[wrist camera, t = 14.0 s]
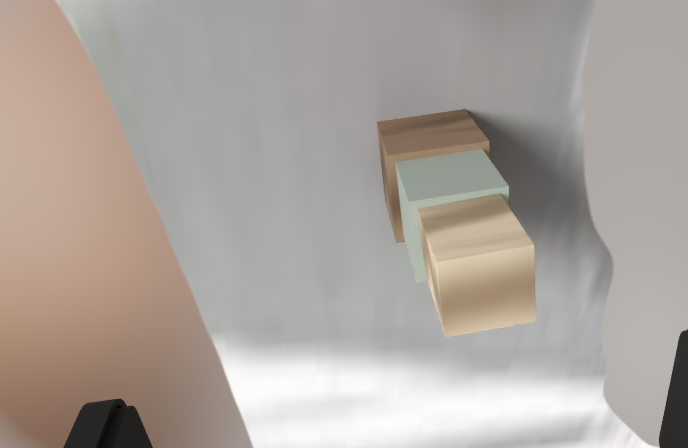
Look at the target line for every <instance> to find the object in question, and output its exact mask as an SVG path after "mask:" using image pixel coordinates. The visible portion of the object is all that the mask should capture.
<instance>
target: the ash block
mask: <svg viewBox="0 0 688 448" xmlns="http://www.w3.org/2000/svg"><path fill="white" fill-rule="evenodd" d="M417 213H418V220H419V227H420V235H421V242H422V250H423V257H424V264H425V272H426V278H427V281H428V284H429V287H430V290H431V293H432V296H433V299H434V303H435V306H436V309H437V312H438V315H439V318H440V321H441V324H442V328H443V331H444V334H445V337H451V336H456V335H462V334H468V333H473V332H479V331H485V330H490V329H496V328H501V327H507V326H513V325H518V324H524V323H530V322H535V321H536V301H535V259H534V244H533V242H532V241H531V239H530V238H529V236H528V235H527V233H526V232H525V230H524V229H523V227H522V226H521V224H520V223H519V221H518V220H517V218H516V217H515V215H514V214H513V212H512V211H511V209H510V208H509V206H508V205H507V203H506V202H505V200H504V199H503V197H502V196H501V194H500V193H498V194H493V195H487V196H482V197H476V198H471V199H466V200H460V201H455V202H449V203H444V204H439V205H433V206H428V207H422V208H417Z"/></svg>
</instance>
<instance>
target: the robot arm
mask: <svg viewBox="0 0 688 448" xmlns="http://www.w3.org/2000/svg"><path fill="white" fill-rule="evenodd" d="M659 445H660V448H688V329H687V331H683V332H682V333H681V334H680V337H679V341H678V347H677V351H676V357H675V361H674V366H673V371H672V376H671V381H670V386H669V391H668V396H667V401H666V406H665V411H664V416H663V421H662V426H661V431H660V436H659ZM64 448H153V447H152V445H151V442H150V440H149V438H148V435H147V433H146V431H145V428H144V426H143V424H142V421H141V419H140V417H139V414H138V412H137V410H136V408H135V407H134V406H127V405H126V404H125V402H124V401H123V400H122V399H113V400H106V401H99V402H91V403H87V404H85V405H84V406H83V407H82V409H81V410H80V412H79V414H78V417H77V419H76V421H75V423H74V426H73V428H72V430H71V432H70V435H69V437H68V439H67V441H66V443H65V446H64Z"/></svg>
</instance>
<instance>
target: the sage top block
mask: <svg viewBox="0 0 688 448" xmlns="http://www.w3.org/2000/svg"><path fill="white" fill-rule="evenodd" d="M395 164H396V173H397V181H398V190H399V199H400V208H401V217H402V226H403V235H404V240H405V243H406V247H407V250H408V254H409V257H410V261H411V264H412V268H413V271H414V275H415V278H416V282H417V283H424V282H428V281H427V278H426V272H425V264H424V257H423V250H422V242H421V235H420V227H419V220H418V213H417V208H422V207H428V206H433V205H439V204H444V203H449V202H455V201H460V200H466V199H471V198H476V197H482V196H487V195H493V194H498V193H500V194H501V196H502V197H503V199H504V200H505V202H506V203H507V205H508V206H509V186H508V184H507V183H506V181H505V180H504V179H503V177H502V176H501V174H500V173H499V172H498V170H497V169H496V167H495V166H494V165H493V163H492V162H491V160H490V159H489V158H488V156H487V155H486V153H485V152H484V151H483V149H478V150H471V151H465V152H458V153H452V154H446V155H439V156H433V157H427V158H420V159H414V160H408V161H401V162H395Z"/></svg>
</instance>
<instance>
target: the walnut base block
mask: <svg viewBox="0 0 688 448" xmlns="http://www.w3.org/2000/svg"><path fill="white" fill-rule="evenodd" d="M377 129H378V138H379V147H380V156H381V165H382V174H383V183H384V193H385V201H386V205H387V209H388V213H389V216H390V220H391V224H392V228H393V232H394V236H395V239H396V243H398V242H405V240H404V235H403V226H402V217H401V208H400V199H399V190H398V181H397V173H396V164H395V162H401V161H408V160H414V159H420V158H427V157H433V156H439V155H446V154H452V153H458V152H465V151H471V150H478V149H483V151H484V152H485V153H486V155H487V156H488V158H489V159H490V147H489V140H488V138H487V137H486V136H485V134H484V133H483V132H482V131H481V129H480V128H479V127H478V125H477V124H476V123H475V121H474V120H473V119H472V118H471V116H470V115H469V114H468V112H467V111H466V110H465V109H463V110H456V111H449V112H442V113H435V114H429V115H422V116H415V117H408V118H401V119H394V120H387V121H381V122H377Z"/></svg>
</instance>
